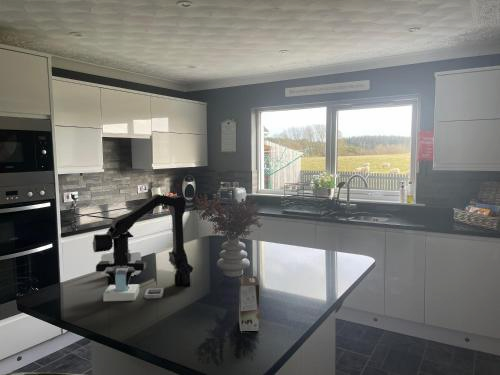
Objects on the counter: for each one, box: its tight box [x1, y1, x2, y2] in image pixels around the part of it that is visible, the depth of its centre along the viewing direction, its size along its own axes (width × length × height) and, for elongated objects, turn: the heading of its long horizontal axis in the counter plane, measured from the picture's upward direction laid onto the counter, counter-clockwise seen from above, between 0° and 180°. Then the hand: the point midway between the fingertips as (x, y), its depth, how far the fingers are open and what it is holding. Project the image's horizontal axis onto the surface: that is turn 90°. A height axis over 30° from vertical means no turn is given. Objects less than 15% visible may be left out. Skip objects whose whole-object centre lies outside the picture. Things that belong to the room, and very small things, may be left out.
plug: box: [115, 270, 128, 291], centre depth 157 cm, size 4×4×9 cm
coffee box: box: [238, 275, 260, 333], centre depth 131 cm, size 9×6×16 cm
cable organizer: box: [100, 248, 142, 277], centre depth 182 cm, size 15×11×12 cm
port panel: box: [102, 283, 140, 302], centre depth 157 cm, size 12×10×3 cm
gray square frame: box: [144, 287, 165, 299], centre depth 159 cm, size 7×7×2 cm
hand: (121, 286), depth 157 cm, fingers closed on plug, 4 cm apart
